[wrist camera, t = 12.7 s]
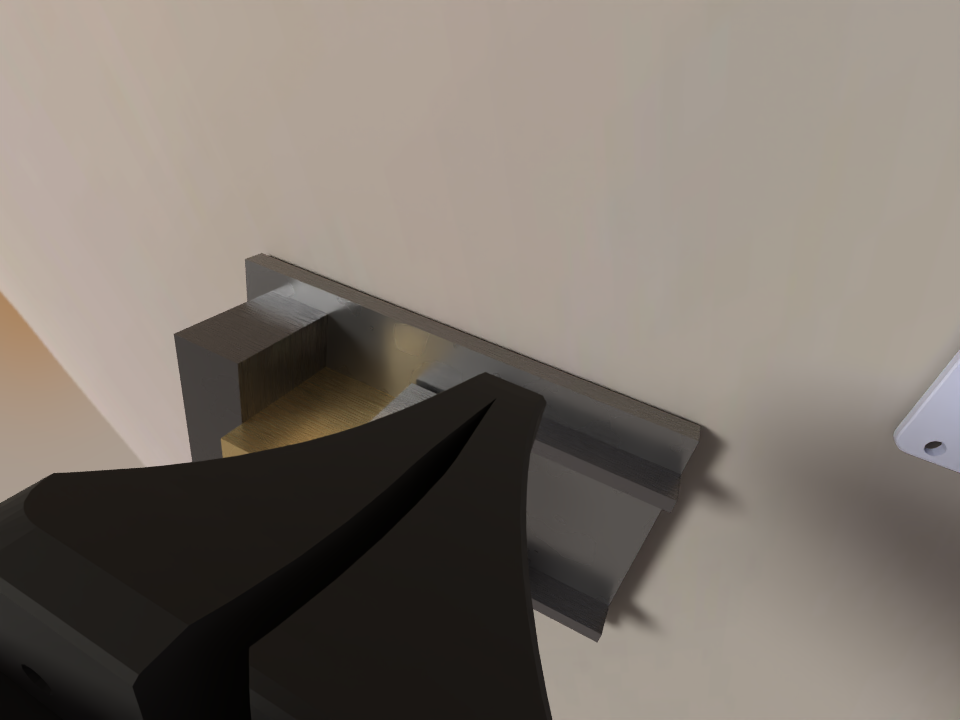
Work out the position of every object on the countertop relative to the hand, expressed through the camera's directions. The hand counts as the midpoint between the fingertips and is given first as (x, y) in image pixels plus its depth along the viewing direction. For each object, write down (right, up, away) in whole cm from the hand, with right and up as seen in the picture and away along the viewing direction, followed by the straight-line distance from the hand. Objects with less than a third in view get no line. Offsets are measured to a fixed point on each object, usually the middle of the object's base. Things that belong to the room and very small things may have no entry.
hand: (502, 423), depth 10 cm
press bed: (-3, -2, +14) cm, 15 cm away
